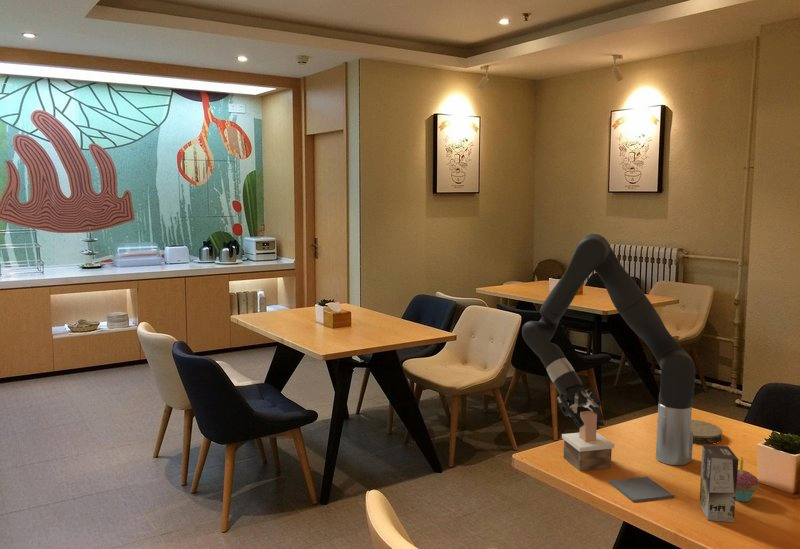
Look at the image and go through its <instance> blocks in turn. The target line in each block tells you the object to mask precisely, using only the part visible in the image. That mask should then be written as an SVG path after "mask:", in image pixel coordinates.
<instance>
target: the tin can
mask: <svg viewBox="0 0 800 549" xmlns="http://www.w3.org/2000/svg"><path fill="white" fill-rule="evenodd" d="M691 430H692V431H693V444H694V443H696V444H695V445H704V444H706V445H714V444H713V443H716V444H718V443H717V442H719V441H720V442H722V439H723V438H722V437H723V430H722V428H721V427H719V426H718V425H716V424H713V423H710V422H707V421H704V420H697V419H691ZM720 442H719V443H720Z"/></svg>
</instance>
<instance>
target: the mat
mask: <svg viewBox="0 0 800 549" xmlns="http://www.w3.org/2000/svg"><path fill="white" fill-rule="evenodd" d="M608 483H609V484H610V485H611V486H612V487H613V488H614V489H616V490H617V491H619V492H620V493H621V494H623V495H624V496H625V497H626V498H627V499H629V500H630V501H631V502H632V503H637V502H645V501H653V500H654V501H655V500H663V499H671V498H674V497H675V495H674V494H673V493H672V492H670V491H669V490H668V489H666V488H664V487H663V486H661V485H660V483H658V482H656V481H655V480H654V479H652V478H650V477H649V476H648V475H647V476H639V477H638V476H637V477H630V478H620V479H611V480H608Z"/></svg>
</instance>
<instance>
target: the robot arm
mask: <svg viewBox="0 0 800 549" xmlns="http://www.w3.org/2000/svg"><path fill="white" fill-rule="evenodd" d="M593 272H595V273H596V274H597V275H598V277H599V278H600V279H601V281H602V283H603V285H604V286H605V288H606V291H607V293H608V296H609V297H610V301H611V302H612V304H613V306H614V308H615V309H616V311H617V312H618V314H619V315H620V317H621V318H622V319H623V321H625V323H626V324H627V326H628V327H629V328H630V329H631V330H632V331H633V332H634V333H635V334H636V335H637V336H638V337H639V338H640V339H641V340H642V341H643V342H644V343H645V345H647V347H648V349H649V350H650V351H651V353H652V355H653V356H654V359H655V360H656V361H657V363H658V366H659V367H660V383H659V384H660V386H659V394H658V405H657V406H658V408H657V427H656V428H657V429H656V442H655V445H656V446H655V459H656V460H657V461H659V462H661V463H663V464H666V465H671V466H684V465H687V464H689V463H692V462H693V461H692V460H693V445H694V443H693V431H692V430H691V420H692V410H693V407H692V406H693V399H694V397H695V396H694V395H695V386H696V385H695V382H696V365H695V363H694V361H693V359H692V357H691V356H690V354H689V353H688V352H687V351H686V350H685V349H684V348H683V347H682V346H681V345H680V343H679V342H678V341H676V339H675V338H674V337H673V336H672V334H670V332H669V331H668V329H667V327H666V325H665V324H664V321H663V320H662V318H661V316H660V315H659V313H658V311H657V310H656V309H655V307H654V305H653V304H652V302H651V301H650V300H649V298H648V297H647V295H646V294H645V293H644V292H643V290H642V289H641V288H640V286H639V285H638V284H637V283H636V281H635V280H634V279H633V278H632V276H631V275H630V274H629V273H628V271H627V270H626V269H625V268H624V267H623V265H622V263H621V262H620V261H619V259H618V257H617V255H616V254H615V252H614V250H613V248H612V247H611V245H610V243H609V242H608V240H607V239H606V238H605V237H604V236H602V235H600V234H598V233H589V234H587V235H585V236H583V238H581V240H580V241H578V243H577V245H576V246H575V250H574V253H573V255H572V258H571V259H570V263H569V265H568V266H567V268H566V270H565V272H564V273H563V275H562V276H561V277H560V279H559V280H558V282H557V283H556V284H555V286H554V287H553V288H552V290H551V291H550V293H549V294H548V296H546V299H545V300H544V301H543V303H542V304H541V306H540V308H539V313H540V315H541V318H540V320H538V321H537V320H535V321H534V320H529V321H527V322H525V323H524V324H523V325H522V328H521V335H522V339H523V341H524V342H525V344H526V345H527V346H528V347H529V349H531V351H533V353H534V354H535V355H536V356H537V357H538V358H539V359H540V361H541V363H542V364H543V366H544V369H546V372H547V375H548V377H549V378H550V380H551V381H552V383H553V385H554V387H555V389H556V390H557V392H558V394H559V396H557V398H555V401H556V403H557V406H558V407H559V409H560V410H561V412H562V414H563V416H564V417H567V416H568V417H570V418H571V419H572V421H573V422H574V423H575V424H574V425H576V427H577V428H579V429H580V428H581V427H582V426H583V425H584V422H583V421H582V419H581V417H580V413H578V408H580V407H581V408H582V407H583V408H586V409H588V410H589V411H592V412H594V413H595V414H597V423H602V422H603V421H604V419H605V416H604V415H603V413H602V410H600V406H601V405H602V404H603V403H602V401H601V400H600V398H599V396H598V395H597V393H595V391H594V389H593V388H592V387H588V389H584V388H583V383H582V380H581V378H580V377H579V375H578V373H577V372H576V371H575V369H574V367H573V366H572V364H571V363H570V361H568V359H567V357H566V356H565V354H564V352H563V351H562V349H561V348H560V346H559V345H558V344H556V343H553V342H551V340H552V338H554V336H555V333H556V332H557V328H558V326H559V324H560V320H561V319H562V318H563V316H564V314H565V312H566V311H567V310H568V308H569V307H570V305H571V304H572V302H573V301H574V299H575V297H576V295H577V293H578V291H579V289H580V288H581V287H582V285H583V283H584V282H585V281H586V280H587V279H588V277H589V276H590V275H591V274H592V273H593Z"/></svg>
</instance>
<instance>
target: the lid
mask: <svg viewBox="0 0 800 549" xmlns="http://www.w3.org/2000/svg"><path fill="white" fill-rule="evenodd" d="M579 415H580V417H581V419H582V421H583V422H584V425H583V426H582V427H581V428H579V432H571V433H561V439H563V441H564V440H565V441H566V442H568V443H569V444H570V445H572V446H573V447H574V448H575V449H577V450H578V451H579V452H582V451H592V450H603V449H612V450H613V449H615V444H614V443H613V442H612V441H610V440H609V439H607V438H605V436H603V435H601V434H600V433H599V432H597V428H598V427H597V425H598V421H597V414H595V413H594V412H593V411H591V410H583V411H582V410H581V411H580V413H579Z"/></svg>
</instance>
